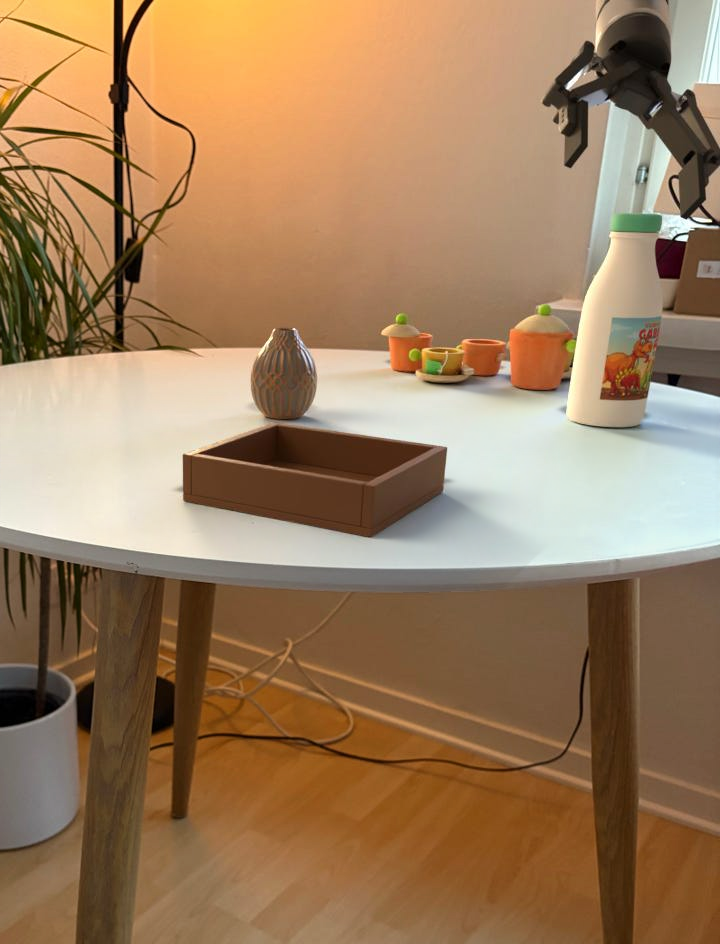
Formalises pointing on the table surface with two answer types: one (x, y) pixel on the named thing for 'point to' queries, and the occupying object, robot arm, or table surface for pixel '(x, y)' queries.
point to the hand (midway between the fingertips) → (635, 183)
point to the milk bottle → (619, 328)
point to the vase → (284, 376)
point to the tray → (315, 477)
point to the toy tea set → (489, 353)
